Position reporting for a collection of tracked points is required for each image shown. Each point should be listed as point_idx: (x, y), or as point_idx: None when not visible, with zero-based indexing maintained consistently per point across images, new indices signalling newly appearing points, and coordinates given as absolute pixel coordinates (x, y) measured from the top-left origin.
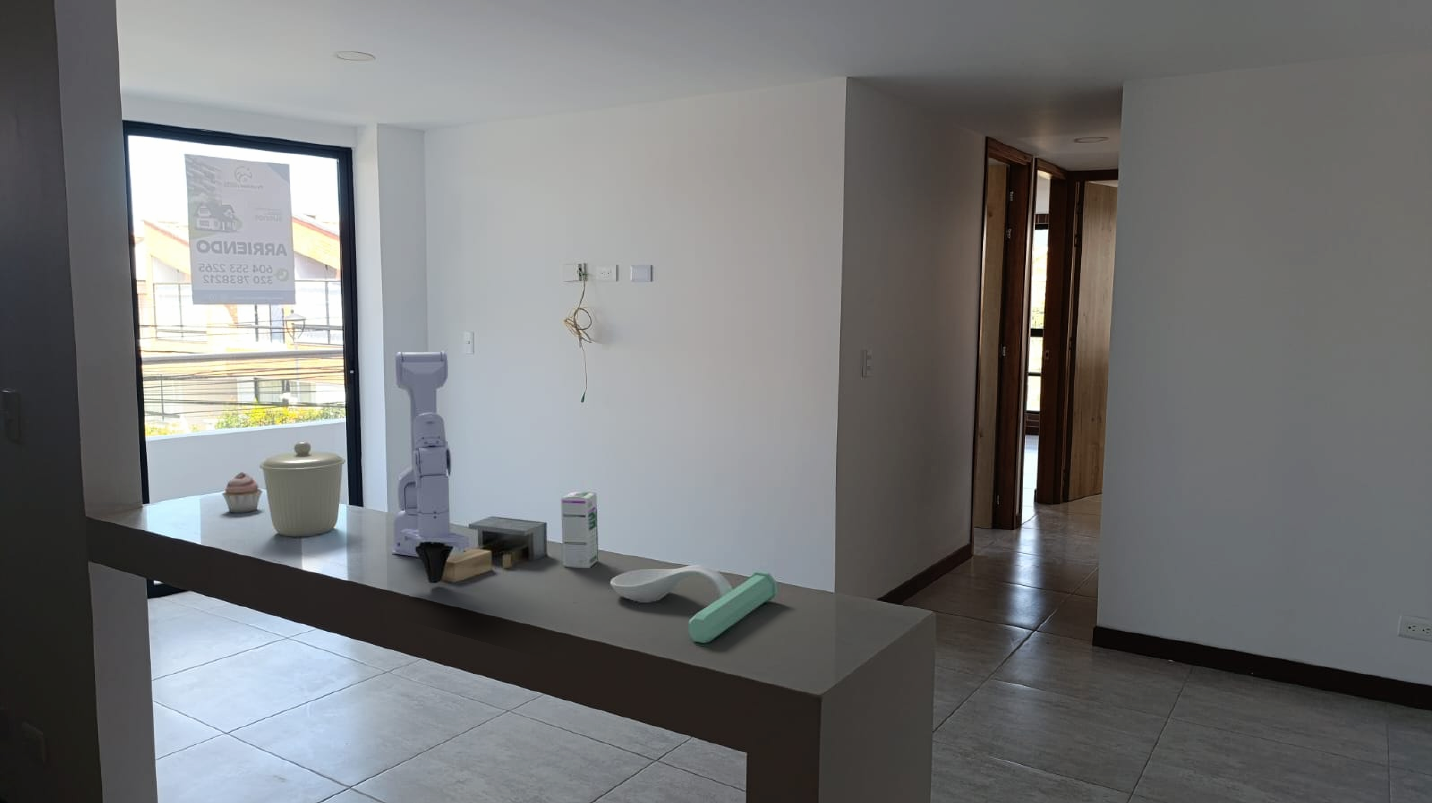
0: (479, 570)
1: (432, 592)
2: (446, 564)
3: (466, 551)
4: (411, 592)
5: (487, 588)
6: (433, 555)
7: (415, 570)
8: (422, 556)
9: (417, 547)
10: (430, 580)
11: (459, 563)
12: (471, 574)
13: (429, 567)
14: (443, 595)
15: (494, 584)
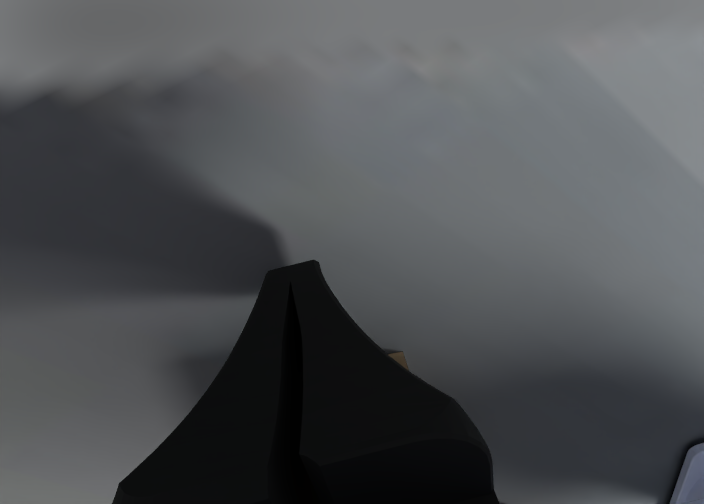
0: None
1: (201, 197)
2: None
3: None
4: (325, 103)
5: (33, 422)
6: (173, 452)
7: (633, 348)
8: (353, 384)
9: (450, 457)
10: (297, 270)
11: None
12: None
13: (304, 337)
14: (71, 206)
15: (84, 464)
